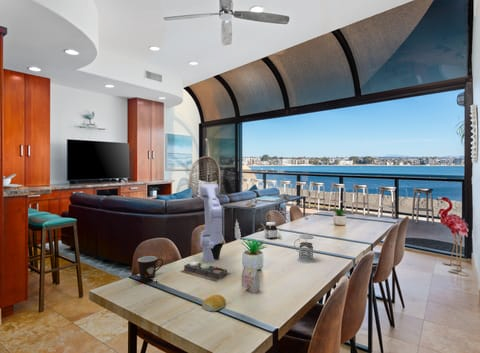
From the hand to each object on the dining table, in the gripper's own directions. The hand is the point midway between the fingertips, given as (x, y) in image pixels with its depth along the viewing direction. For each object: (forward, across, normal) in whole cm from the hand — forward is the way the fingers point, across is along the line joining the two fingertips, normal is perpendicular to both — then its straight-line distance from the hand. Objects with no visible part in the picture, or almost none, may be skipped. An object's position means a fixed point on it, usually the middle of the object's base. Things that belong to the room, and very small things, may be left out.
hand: (216, 259), depth 139 cm
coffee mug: (+10, +10, -30) cm, 33 cm away
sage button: (+6, -2, -7) cm, 9 cm away
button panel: (+9, -2, -7) cm, 12 cm away
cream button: (+6, -4, -14) cm, 16 cm away
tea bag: (+10, +8, +19) cm, 23 cm away
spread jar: (+10, -86, +14) cm, 87 cm away
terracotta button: (+8, 0, +1) cm, 8 cm away
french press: (+10, -39, +39) cm, 56 cm away
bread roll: (+10, +26, +9) cm, 29 cm away
